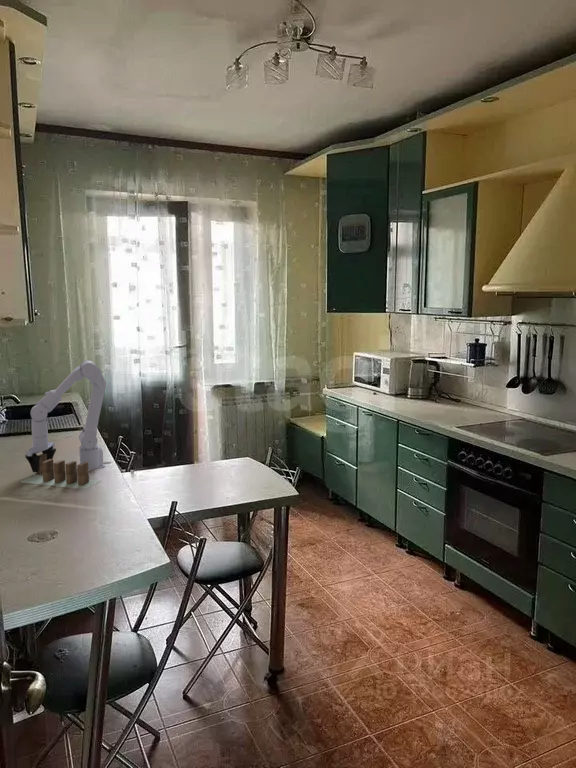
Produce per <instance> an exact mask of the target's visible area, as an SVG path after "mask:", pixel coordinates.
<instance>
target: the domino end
mask: <svg viewBox="0 0 576 768" xmlns="http://www.w3.org/2000/svg"><path fill="white" fill-rule="evenodd" d="M89 471H90V470H89V469H88V462H83V463H81V464H80V463H79V464H77V478H78V485H81V486H82V485H84V484H86V483H88V482H89V479H90V475H89V474H90V473H89Z"/></svg>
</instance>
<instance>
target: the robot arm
mask: <svg viewBox="0 0 576 768" xmlns="http://www.w3.org/2000/svg"><path fill="white" fill-rule="evenodd" d="M84 378H85V379H87V380H89V382H90V383H91V384H92V390H91V395H90V398H89V399H90V401H89V404H88V409H87V413H86V419H85V424H84V425H83V429H82V431H81V432H80V434H79V436H78V439H79V441H80V445H79V447H78V451H79V453H78V455H79V464H81V463H83V462H88V469H89V471H92V470H97V469H98V468H100V469H102V468H104V467H106V464H104V451H103V449H102V447H101V446H100V445H98V437H97V434H98V425H99V420H100V415H101V411H102V410H101V409H102V406H103V400H104V396H105V391H106V387H107V382H106V380H105V377H104V376H103V373H102V371H101V369H100V367H98V365H96V363H95V362H94V361H92V360H89V359H88V360H83V361H82V362H81V363H80V365H78V366H76V367H75V368H74V369H73V370H72V371H71V372H70V373H69V374H68V375H67V377H65V378H64V380H63V381H62V382H61V383H60V384H59V385H58V387H56V389H50V390H48V391H46V392H45V393H44V396H43V397H42V398H41V399H39V401H36V402H35V405H34V406H32V408H31V409H30V417H31V425H30V426H31V438H32V439H31V440H32V443H31V444H32V445H31V446H30V448H29V449H28V450H26V451H25V455H24V457H25V458H26V460H27V462H28V463H29V466H30V469H31V471H32V473H36V474H37V472H38V471H39V460H40V457H41V456H40V455H41V454H39V455H38V453H42V454H47V460H49V459H53V458H54V456H55V454H56V452H57V448H55V447H56V446H55V445H56V444H55V442H53V441H52V442H49V433H48V423H47V417H48V413H51V412H52V411H53V409H55V408H56V406H58V404H59V403H61V401H62V400H63V399H62V398H63V397H62V396H63V395H64V394H65V392H67V391H68V390H69V389H70V388H71V387H72V386H73V385H74V384H75V383H76V382H78V381H83V380H84ZM53 460H54V459H53Z"/></svg>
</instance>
